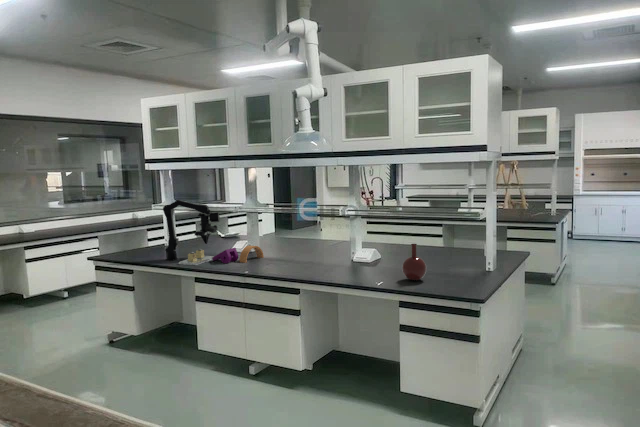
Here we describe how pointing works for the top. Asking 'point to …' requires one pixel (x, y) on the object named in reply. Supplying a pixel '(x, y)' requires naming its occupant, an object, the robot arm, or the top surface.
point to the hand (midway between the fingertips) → (206, 243)
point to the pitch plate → (197, 261)
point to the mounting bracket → (227, 256)
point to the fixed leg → (192, 256)
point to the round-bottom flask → (414, 266)
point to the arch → (246, 250)
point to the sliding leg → (200, 253)
